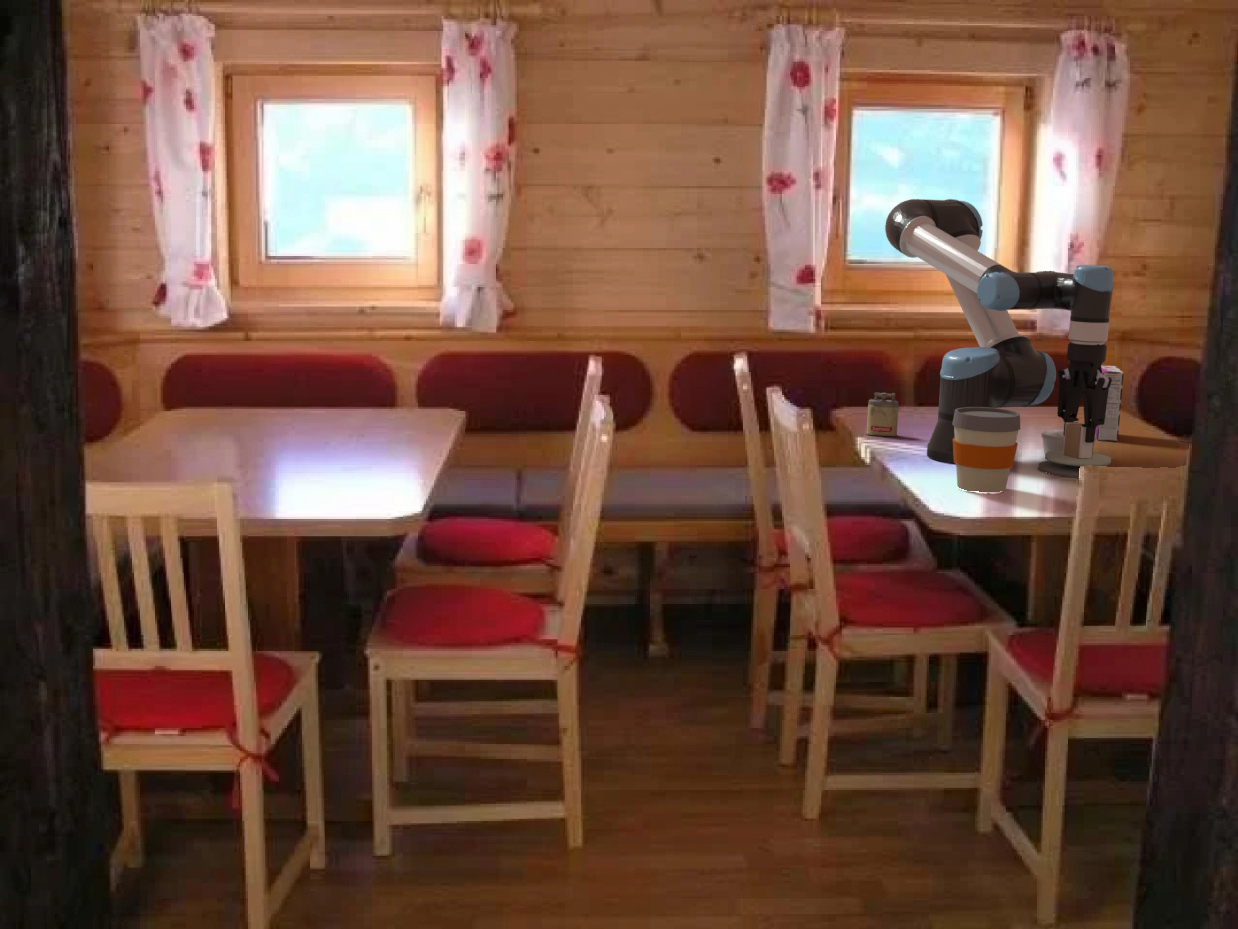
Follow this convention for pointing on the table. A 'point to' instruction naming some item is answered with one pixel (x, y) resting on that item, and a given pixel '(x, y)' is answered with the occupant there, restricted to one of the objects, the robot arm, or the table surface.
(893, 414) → the lighter
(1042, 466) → the trivet
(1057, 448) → the ramekin
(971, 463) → the reusable coffee cup
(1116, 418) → the candy bar box
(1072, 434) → the lid
